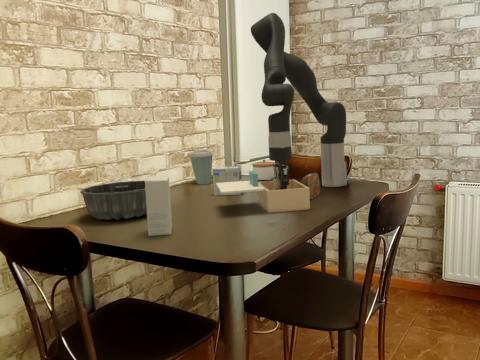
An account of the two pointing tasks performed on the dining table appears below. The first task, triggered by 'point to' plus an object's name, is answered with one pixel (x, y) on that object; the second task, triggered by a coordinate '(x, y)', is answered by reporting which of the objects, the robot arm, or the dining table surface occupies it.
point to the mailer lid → (241, 185)
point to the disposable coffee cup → (202, 165)
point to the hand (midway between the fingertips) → (282, 196)
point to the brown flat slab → (312, 184)
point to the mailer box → (284, 197)
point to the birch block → (276, 184)
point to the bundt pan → (116, 200)
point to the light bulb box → (226, 177)
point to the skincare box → (158, 205)
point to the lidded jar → (264, 170)
